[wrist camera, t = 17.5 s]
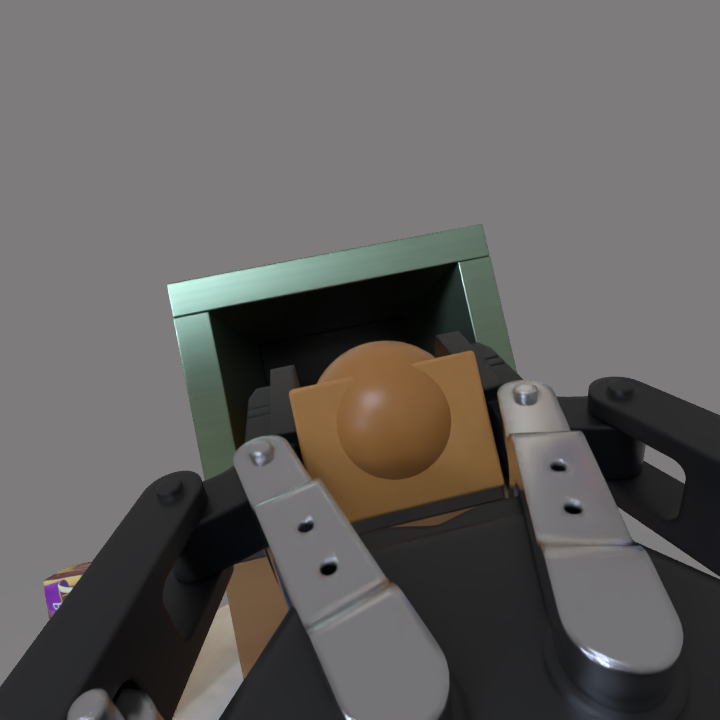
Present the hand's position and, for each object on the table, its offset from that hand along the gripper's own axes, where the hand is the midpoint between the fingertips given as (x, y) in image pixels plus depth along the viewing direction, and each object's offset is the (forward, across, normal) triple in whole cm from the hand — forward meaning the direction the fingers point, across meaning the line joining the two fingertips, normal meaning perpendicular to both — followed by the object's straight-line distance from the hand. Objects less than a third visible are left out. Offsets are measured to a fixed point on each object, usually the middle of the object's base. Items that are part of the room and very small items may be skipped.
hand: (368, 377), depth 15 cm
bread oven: (+9, 0, +12) cm, 15 cm away
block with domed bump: (+3, 0, +6) cm, 6 cm away
